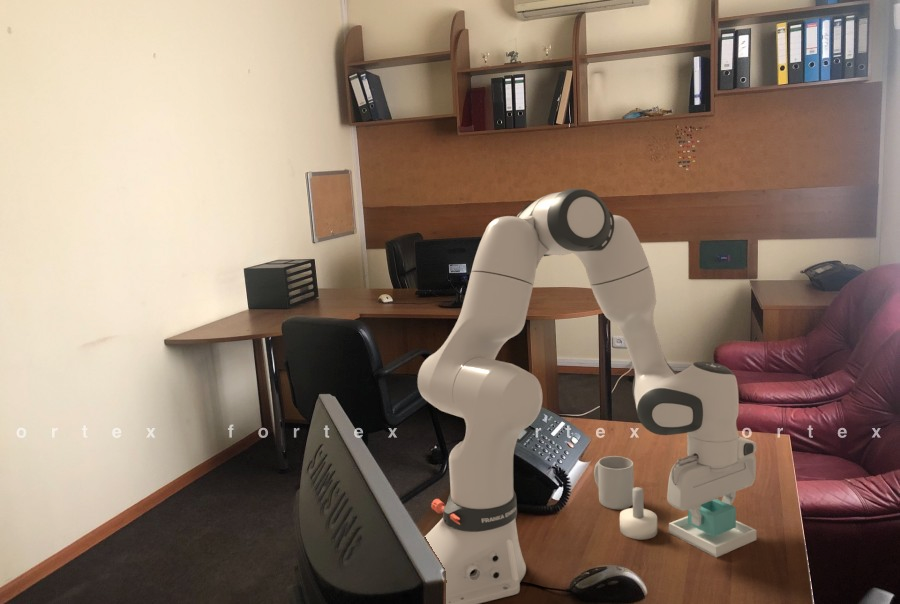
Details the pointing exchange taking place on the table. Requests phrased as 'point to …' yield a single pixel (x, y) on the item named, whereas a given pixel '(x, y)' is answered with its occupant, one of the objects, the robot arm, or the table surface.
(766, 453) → the table surface
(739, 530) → the tray
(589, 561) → the table surface
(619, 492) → the cup
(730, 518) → the teal hollow block
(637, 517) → the peg stand
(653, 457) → the table surface
